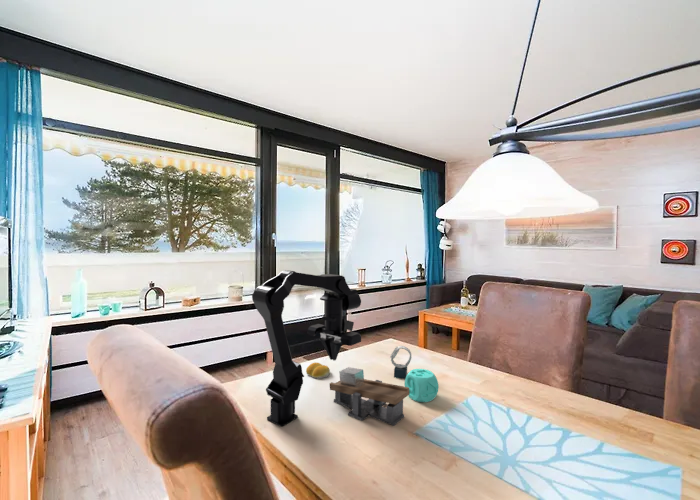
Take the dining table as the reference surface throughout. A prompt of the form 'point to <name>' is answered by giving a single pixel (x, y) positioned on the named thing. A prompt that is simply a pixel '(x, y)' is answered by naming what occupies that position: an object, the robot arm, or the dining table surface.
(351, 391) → the beam
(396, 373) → the watch
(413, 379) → the decorative dice
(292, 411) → the robot arm
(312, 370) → the bread roll
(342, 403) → the stand
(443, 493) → the dining table surface
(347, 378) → the rider
